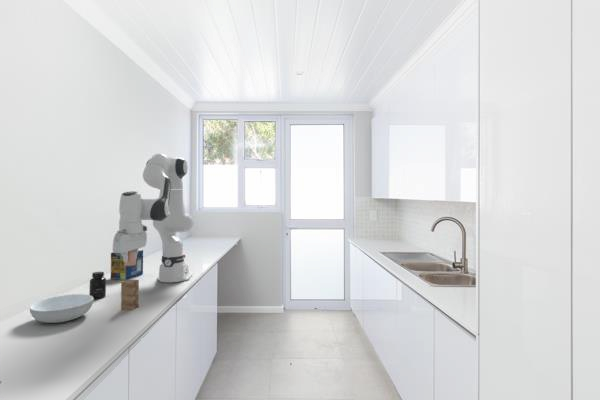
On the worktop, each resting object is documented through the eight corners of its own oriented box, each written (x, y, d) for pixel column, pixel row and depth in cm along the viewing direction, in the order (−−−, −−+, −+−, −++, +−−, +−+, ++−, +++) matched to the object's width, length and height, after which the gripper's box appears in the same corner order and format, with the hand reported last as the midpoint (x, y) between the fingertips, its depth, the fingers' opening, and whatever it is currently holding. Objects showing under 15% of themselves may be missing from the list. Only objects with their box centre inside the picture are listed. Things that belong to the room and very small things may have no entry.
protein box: (110, 279, 200) (110, 252, 200) (129, 273, 215) (129, 248, 215) (125, 280, 198) (125, 253, 197) (143, 274, 213) (143, 249, 212)
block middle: (127, 297, 153) (127, 288, 152) (138, 297, 152) (138, 288, 152) (121, 300, 148) (121, 291, 147) (132, 301, 147) (132, 291, 147)
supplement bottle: (98, 300, 161) (98, 274, 161) (85, 298, 162) (86, 273, 162) (109, 295, 167) (109, 271, 167) (97, 294, 169) (97, 270, 169)
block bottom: (127, 306, 153) (127, 297, 153) (138, 306, 152) (138, 297, 152) (121, 309, 148) (121, 300, 148) (132, 310, 147) (132, 301, 147)
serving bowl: (38, 313, 142) (38, 297, 142) (97, 307, 150) (97, 292, 150) (21, 332, 123) (21, 313, 123) (88, 324, 131) (88, 306, 131)
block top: (127, 288, 152) (128, 279, 152) (138, 288, 152) (138, 279, 152) (121, 291, 147) (121, 282, 147) (132, 291, 147) (132, 282, 147)
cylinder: (128, 263, 152) (128, 250, 152) (138, 264, 152) (138, 250, 152) (121, 266, 148) (122, 252, 147) (132, 266, 147) (132, 252, 147)
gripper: (123, 231, 139) (123, 265, 139) (149, 226, 159) (149, 256, 159) (108, 230, 139) (108, 264, 140) (136, 226, 160) (136, 256, 160)
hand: (130, 260), depth 150 cm, fingers closed on cylinder, 5 cm apart
